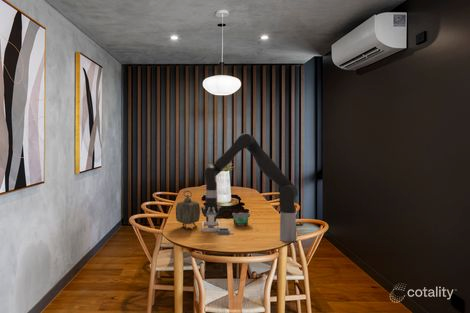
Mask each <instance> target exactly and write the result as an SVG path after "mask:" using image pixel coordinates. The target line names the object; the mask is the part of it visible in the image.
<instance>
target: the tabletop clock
mask: <svg viewBox="0 0 470 313" xmlns="http://www.w3.org/2000/svg"><path fill="white" fill-rule="evenodd" d="M185 193H190V195H189V194H188V195H186V194H185ZM183 196H184V197H185V198H184V199H183V201H182V200H181V201H180V202H179V201H178V202H177V204H176V206H175V219H176V221H177V222H178V223H181V224H182V226H183V228H184V229H187V225H191V224H193V225H194V227H195V228H197V227H198V226H197V225H196V224H195V223H197V222H199V221H200V216H201V206H200V203H199V202H197V201H194V200H192V198H191V197H192V196H193V193H192V192H191V191H189V190H185V191H184V192H183Z"/></svg>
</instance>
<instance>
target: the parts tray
mask: <svg viewBox="0 0 470 313" xmlns="http://www.w3.org/2000/svg"><path fill="white" fill-rule="evenodd" d="M204 226H208V222H207V221H202V224H201V232H203V233H204V232H206V233H207V232H214V231H218V228H221V224H220V221H217V220H216V221H215V222H214V226H218V227H214V228H208V227H204Z"/></svg>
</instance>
